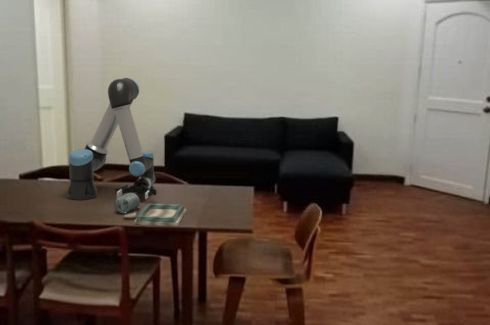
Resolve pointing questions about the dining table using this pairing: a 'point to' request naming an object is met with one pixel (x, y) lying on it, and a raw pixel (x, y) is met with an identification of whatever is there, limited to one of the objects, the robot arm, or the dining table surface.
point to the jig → (161, 215)
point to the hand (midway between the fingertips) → (131, 195)
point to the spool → (127, 202)
